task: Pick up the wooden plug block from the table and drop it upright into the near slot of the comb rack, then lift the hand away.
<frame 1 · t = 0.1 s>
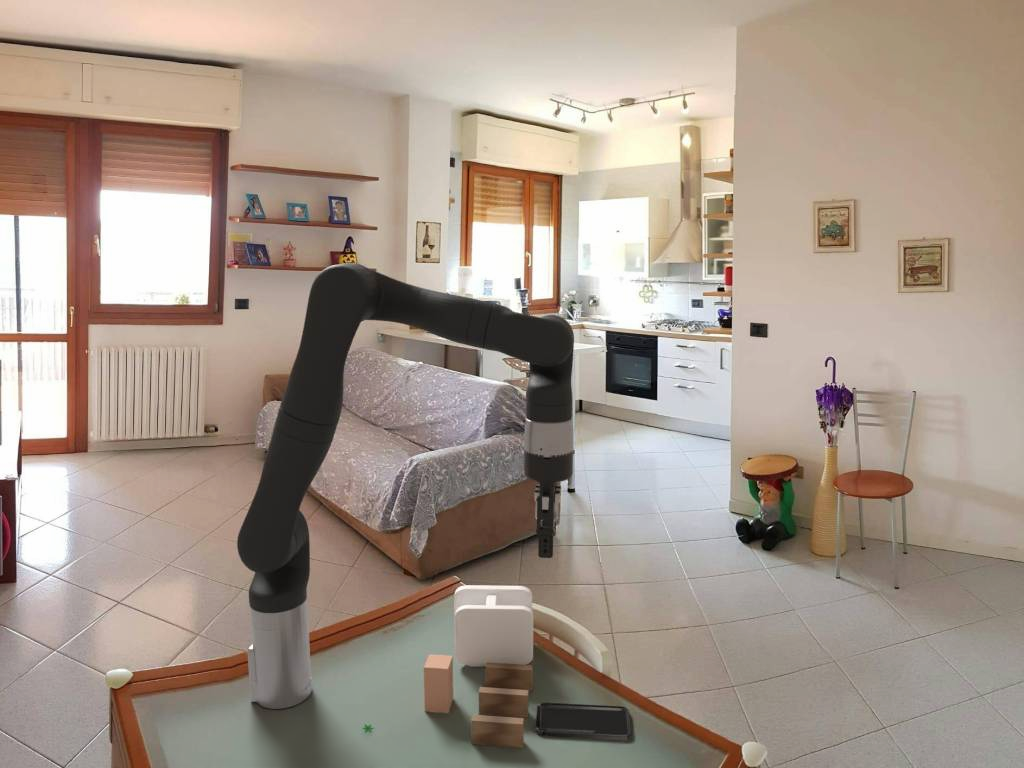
hand: (547, 545, 122), 29 cm above the table, tool pointing down, fingers open, 8 cm apart
plug block: (439, 705, 130), on the table
comb rack: (503, 713, 127), on the table
phone: (582, 726, 125), on the table
cable organizer: (492, 654, 146), on the table
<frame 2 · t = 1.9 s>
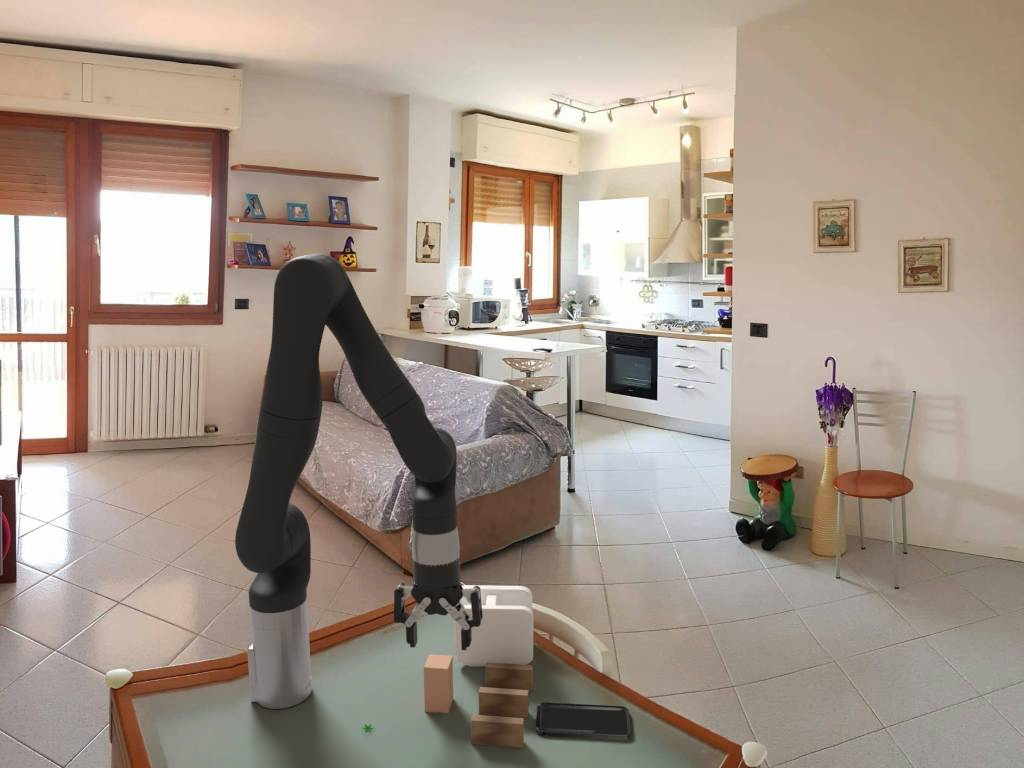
hand: (439, 646, 127), 11 cm above the table, tool pointing down, fingers open, 8 cm apart
nothing on the table moved.
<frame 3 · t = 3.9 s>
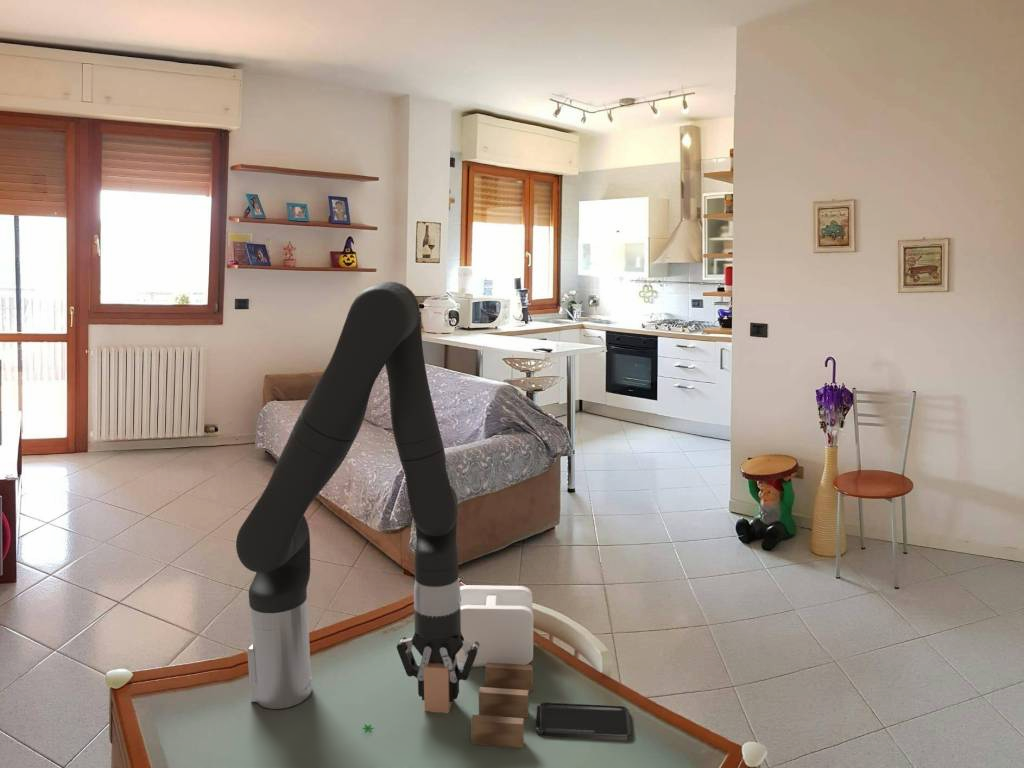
hand: (439, 698, 129), 1 cm above the table, tool pointing down, fingers closed on plug block, 4 cm apart
plug block: (439, 705, 130), on the table, touching gripper
everything else where it was.
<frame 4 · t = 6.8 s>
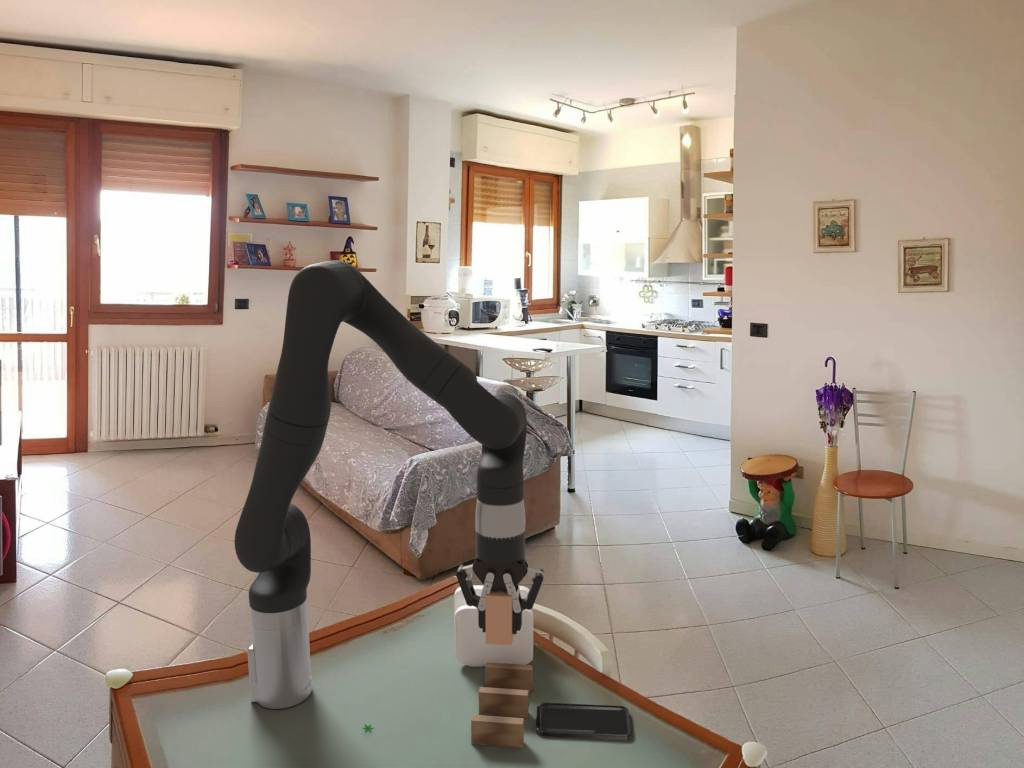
hand: (500, 630, 120), 17 cm above the table, tool pointing down, fingers closed on plug block, 4 cm apart
plug block: (500, 637, 121), point 16 cm above the table, touching gripper
everything else where it was.
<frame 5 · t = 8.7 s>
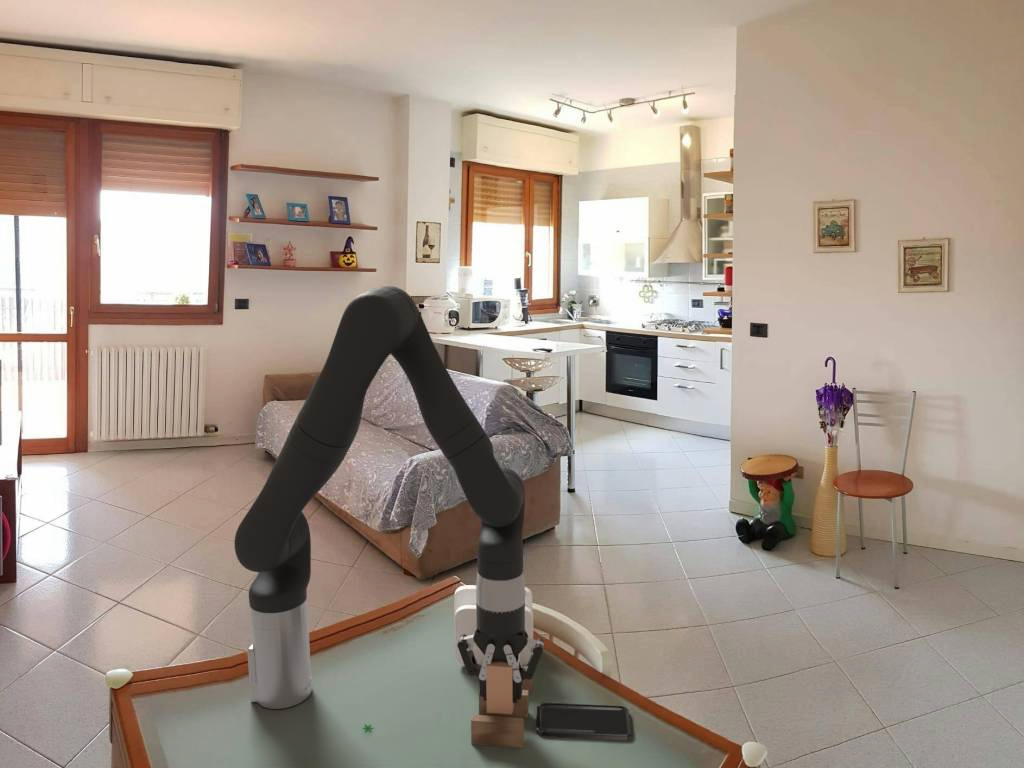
hand: (501, 698, 123), 5 cm above the table, tool pointing down, fingers closed on plug block, 4 cm apart
plug block: (501, 705, 123), point 4 cm above the table, touching gripper
everything else where it was.
when the fingers open (3 cm above the table, at t = 10.1 s): plug block drops 1 cm, on the table.
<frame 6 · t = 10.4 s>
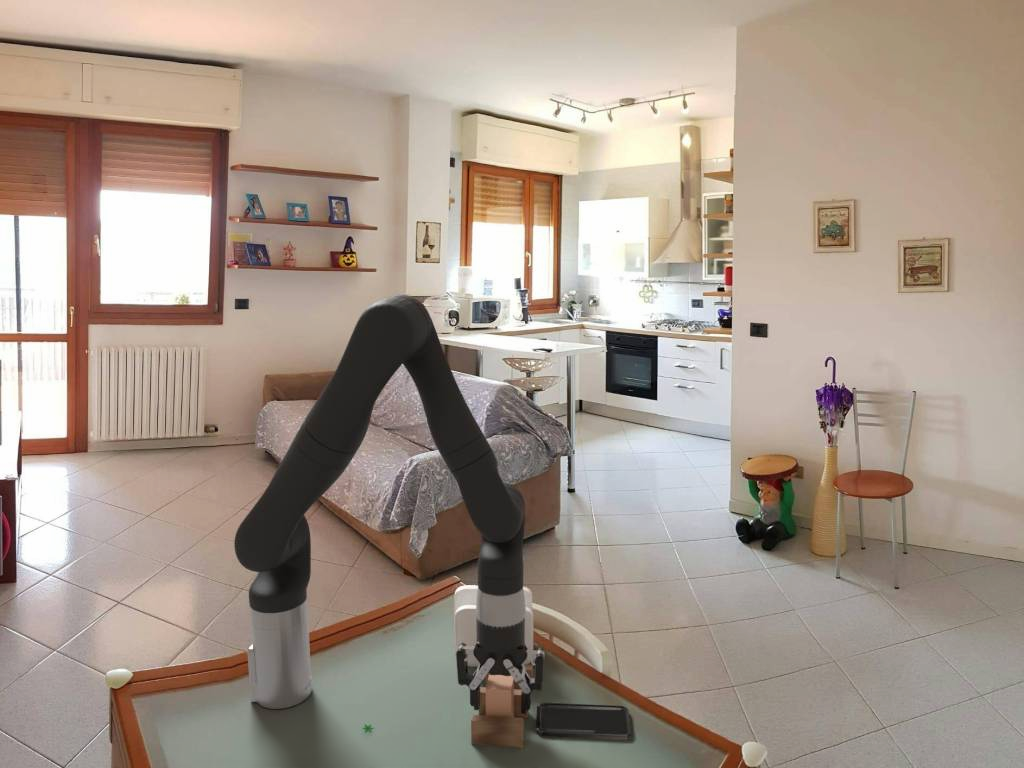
hand: (500, 708, 123), 3 cm above the table, tool pointing down, fingers open, 7 cm apart
plug block: (500, 727, 124), on the table
everything else where it was.
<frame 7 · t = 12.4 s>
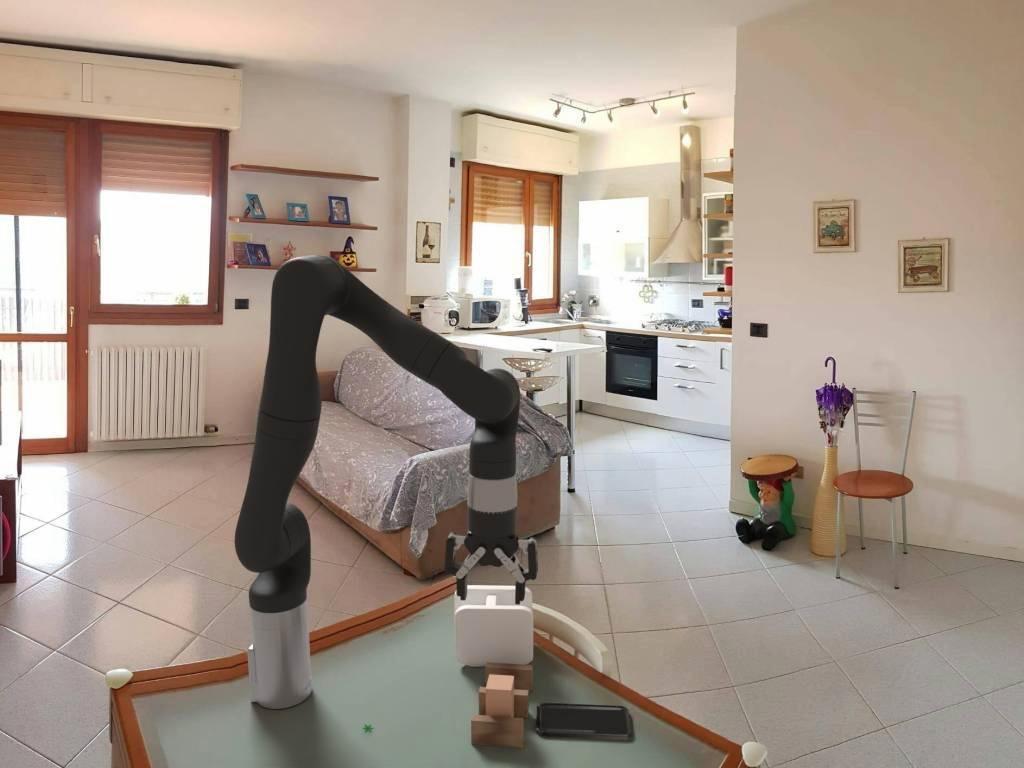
hand: (490, 600, 121), 21 cm above the table, tool pointing down, fingers open, 8 cm apart
nothing on the table moved.
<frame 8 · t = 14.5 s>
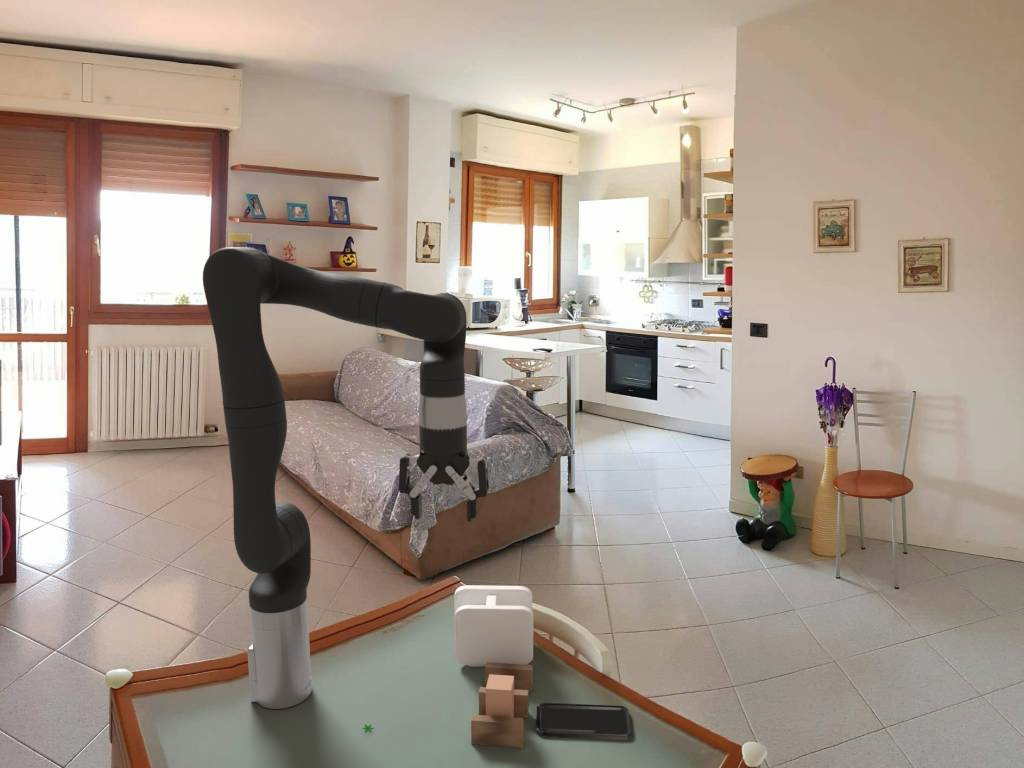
hand: (444, 518, 125), 32 cm above the table, tool pointing down, fingers open, 8 cm apart
nothing on the table moved.
at the end: plug block 0.1 cm from the target spot, on the table; plug block tilted 0°; phone moved 0.6 cm from its start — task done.
